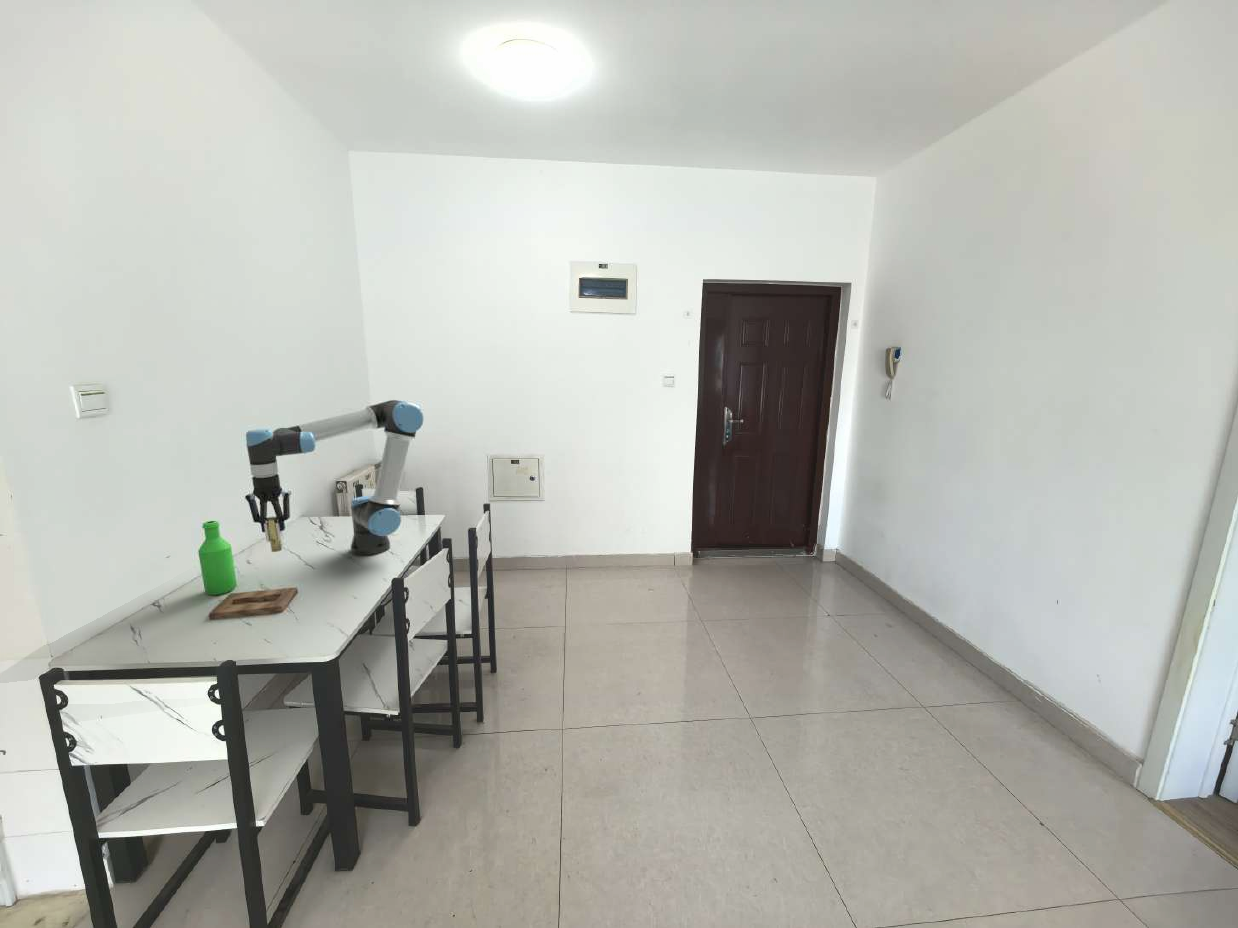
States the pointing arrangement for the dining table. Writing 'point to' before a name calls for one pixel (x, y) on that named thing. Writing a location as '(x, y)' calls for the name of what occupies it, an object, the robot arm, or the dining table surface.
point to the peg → (273, 534)
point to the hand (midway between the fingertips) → (275, 539)
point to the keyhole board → (253, 603)
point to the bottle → (216, 561)
